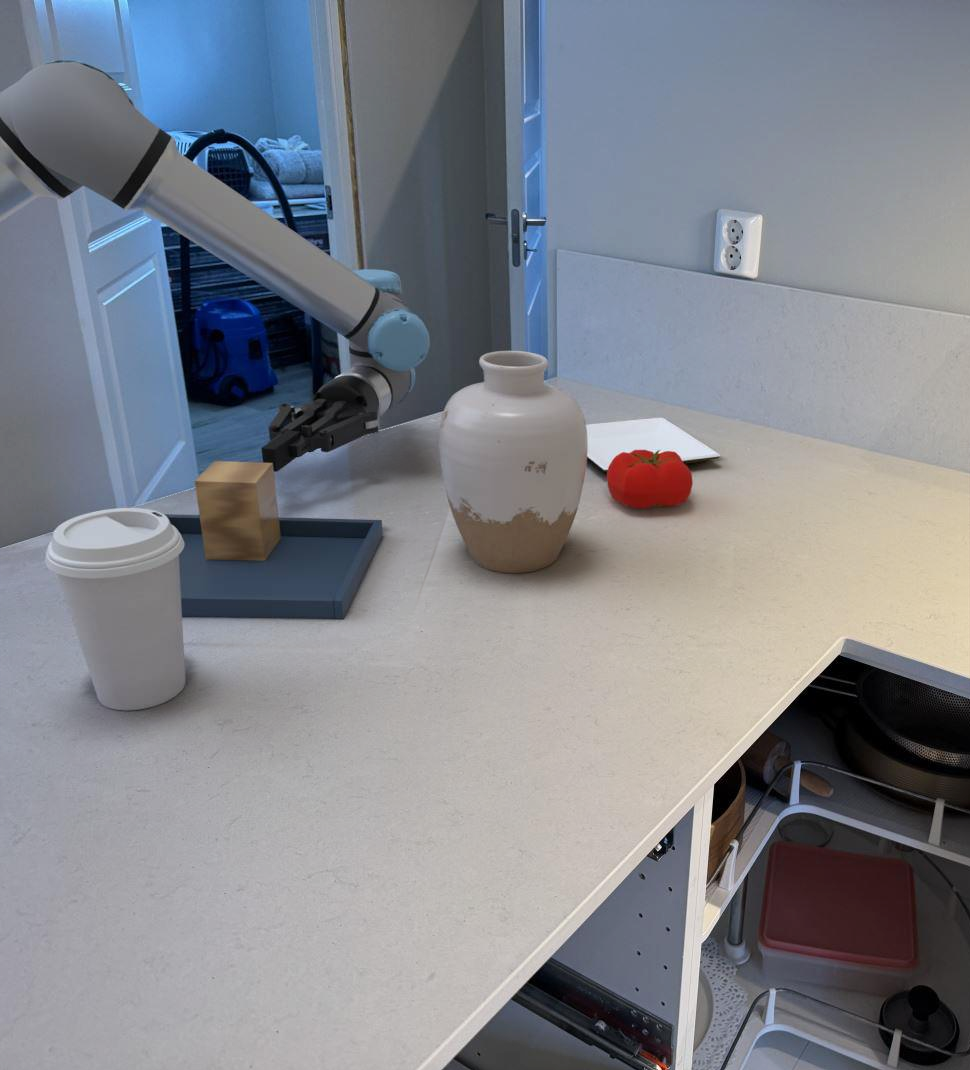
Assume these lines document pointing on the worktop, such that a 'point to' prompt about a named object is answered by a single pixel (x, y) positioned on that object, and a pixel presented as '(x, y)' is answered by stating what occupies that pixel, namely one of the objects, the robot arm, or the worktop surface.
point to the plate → (643, 441)
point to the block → (238, 510)
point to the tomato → (649, 479)
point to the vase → (513, 463)
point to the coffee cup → (124, 602)
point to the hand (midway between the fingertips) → (269, 460)
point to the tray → (279, 571)
